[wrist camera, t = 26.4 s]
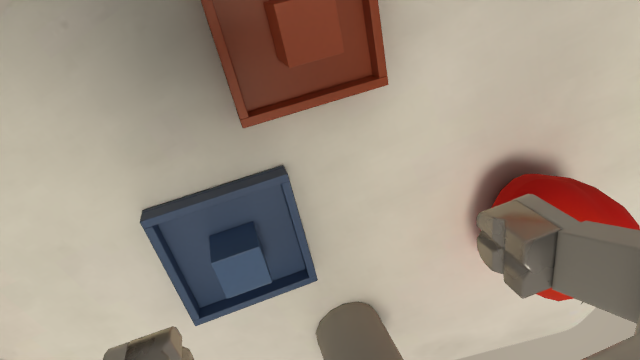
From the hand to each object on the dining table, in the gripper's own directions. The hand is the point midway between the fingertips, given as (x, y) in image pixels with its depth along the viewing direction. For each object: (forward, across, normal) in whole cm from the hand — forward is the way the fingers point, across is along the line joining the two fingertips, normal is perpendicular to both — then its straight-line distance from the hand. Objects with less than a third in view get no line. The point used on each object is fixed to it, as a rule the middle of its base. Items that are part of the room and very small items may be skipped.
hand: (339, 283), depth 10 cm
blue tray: (+27, +5, +16) cm, 32 cm away
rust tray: (+27, -6, -3) cm, 28 cm away
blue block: (+27, +5, +16) cm, 31 cm away
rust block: (+27, -6, -3) cm, 27 cm away
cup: (+27, -4, +34) cm, 44 cm away
